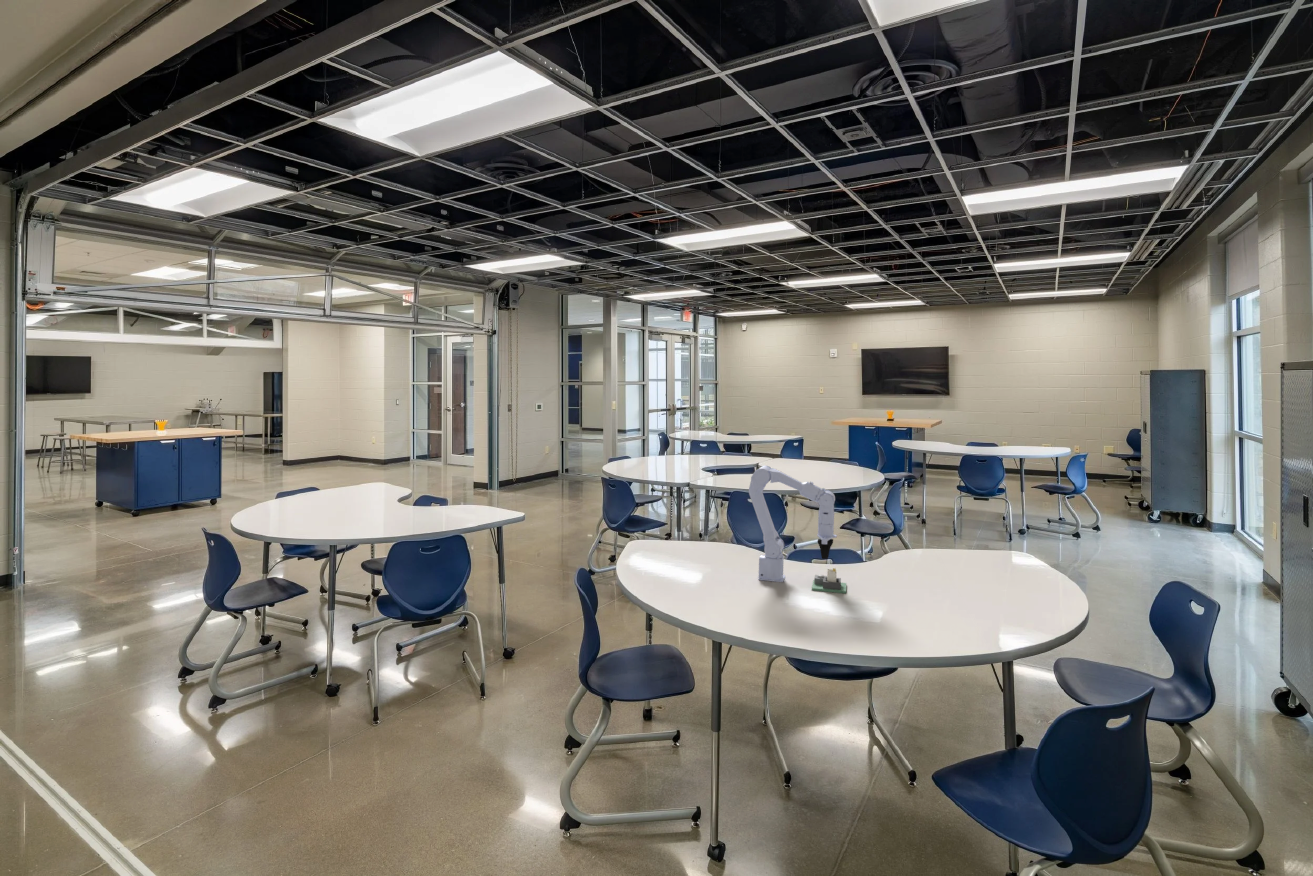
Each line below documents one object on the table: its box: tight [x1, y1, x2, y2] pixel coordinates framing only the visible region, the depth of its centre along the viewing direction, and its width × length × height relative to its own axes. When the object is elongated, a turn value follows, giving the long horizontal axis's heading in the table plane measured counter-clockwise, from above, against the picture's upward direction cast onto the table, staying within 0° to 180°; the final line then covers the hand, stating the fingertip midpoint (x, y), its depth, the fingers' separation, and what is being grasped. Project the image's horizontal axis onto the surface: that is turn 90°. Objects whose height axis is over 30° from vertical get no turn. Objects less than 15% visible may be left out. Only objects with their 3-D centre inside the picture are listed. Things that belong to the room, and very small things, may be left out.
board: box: [811, 574, 847, 595], centre depth 229 cm, size 12×10×4 cm
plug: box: [826, 567, 838, 582], centre depth 228 cm, size 3×3×7 cm
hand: (824, 558), depth 233 cm, fingers closed
